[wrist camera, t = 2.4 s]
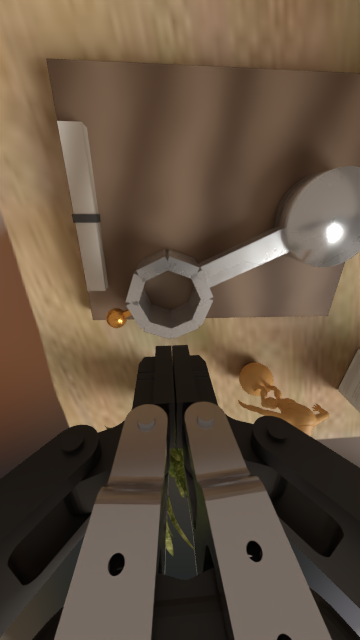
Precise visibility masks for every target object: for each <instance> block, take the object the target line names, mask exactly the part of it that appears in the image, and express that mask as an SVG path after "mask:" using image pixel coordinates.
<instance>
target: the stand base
mask: <svg viewBox="0 0 360 640" xmlns="http://www.w3.org/2000/svg"><path fill="white" fill-rule="evenodd" d="M47 65H48V70H49V76H50V82H51V87H52V93H53V98H54V104H55V110H56V115H57V123H58V129H59V134H60V140H61V146H62V151H63V157H64V162H65V168H66V173H67V179H68V185H69V190H70V196H71V201H72V207H73V213H74V214H72V217H73V222H74V223H75V224H76V229H77V235H78V240H79V246H80V252H81V257H82V263H83V268H84V274H85V280H86V285H87V291H88V295H89V300H90V306H91V311H92V317H93V320H106V316H107V313H108V312H109V311H110V310H111V309H114V308H119V309H122V310H123V311H125V310H127V309H128V308H127V306H126V304H127V302H126V298H127V295H128V292H129V288H130V285H131V281H132V278H133V274H134V272H135V270H136V268H137V266H138V264H139V263H140V262H141V260H143V259H145V258H147V257H149V256H151V255H153V254H155V253H157V252H159V251H161V250H163V249H166V251H168V249H172V250H174V251H177V252H180V253H182V254H185V255H188V256H190V257H193V258H194V260H196V261H197V263H200V262H202V261H204V260H206V259H209V258H211V257H213V256H215V255H217V254H219V253H221V252H224V251H226V250H228V249H230V248H232V247H234V246H236V245H238V244H241V243H243V242H245V241H247V240H249V239H251V238H253V237H256V236H258V235H260V234H262V233H264V232H266V231H268V230H270V229H273V222H274V217H275V213H276V210H277V208H278V205H279V203H280V201H281V200H282V198H283V197H284V195H285V194H286V192H287V191H288V190H289V189H290V188H291V187H292V186H293V185H294V184H295V183H297V182H298V181H300V180H301V179H303V178H305V177H307V176H309V175H312V174H316V173H320V172H324V171H328V170H332V169H336V168H340V167H344V166H357V167H360V73H343V72H322V71H301V70H280V69H258V68H237V67H216V66H195V65H174V64H152V63H131V62H110V61H89V60H67V59H47ZM344 264H345V262H343V263H341V264H338V265H335V266H331V267H315V266H311V265H308V264H306V263H303V262H300V261H298V260H295V259H292V258H290V257H288V256H286V255H285V254H284V255H281V256H279V257H277V258H275V259H273V260H270V261H268V262H266V263H264V264H261V265H259V266H257V267H255V268H253V269H250V270H248V271H246V272H244V273H241V274H239V275H237V276H235V277H232V278H230V279H228V280H226V281H224V282H221V283H219V284H217V285H215V286H212V287H210V290H211V293H212V295H213V297H212V299H213V302H212V304H211V307H210V309H209V311H208V313H207V315H206V318H229V317H283V316H328V313H329V310H330V307H331V304H332V301H333V298H334V295H335V291H336V288H337V285H338V282H339V279H340V276H341V273H342V270H343V267H344ZM194 286H195V285H194V283H193V281H192V279H191V278H188V277H185V276H183V275H180V274H177V273H174V272H171V271H169V270H168V271H166V272H163V273H161V274H159V275H157V276H155V277H153V278H151V279H149V280H147V281H145V284H144V290H145V292H146V294H147V296H148V297H149V299H150V301H151V303H152V304H153V305H156V306H159V307H162V308H166V309H169V310H172V309H174V308H176V307H178V306H181V305H183V304H185V303H187V302H188V300H189V298H190V295H191V293H192V291H193V288H194ZM127 319H134V318H133V316H132V315H131V316H128V317H127Z"/></svg>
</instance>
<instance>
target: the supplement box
mask: <svg viewBox="0 0 360 640" xmlns="http://www.w3.org/2000/svg"><path fill="white" fill-rule="evenodd" d="M338 391H339V392H340V393H341V394H342V395H343V396H344V397H345V398H346V399H347V400H348V401H349V402H350V403H351V404H352V405H353V406H354V407H355V408H356V409H357V410H358V411H359V412H360V349H358V351H357V352H356V354H355V356H354V358H353V360H352V362H351V364H350V366H349V368H348V370H347V372H346V374H345V376H344V378H343V380H342V382H341V384H340V386H339V388H338Z"/></svg>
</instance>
